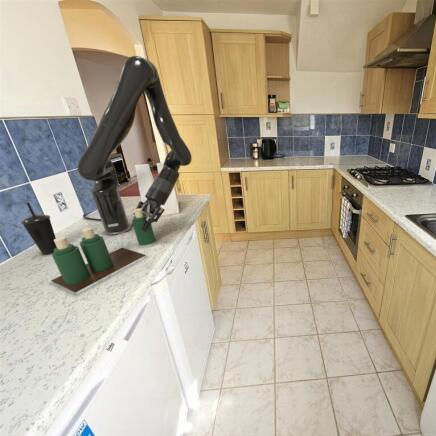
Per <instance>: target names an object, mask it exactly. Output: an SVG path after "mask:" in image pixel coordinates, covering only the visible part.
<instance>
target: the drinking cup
mask: <svg viewBox="0 0 436 436" xmlns="http://www.w3.org/2000/svg"><path fill="white" fill-rule="evenodd" d="M26 206H27V208H28V210H29V212H30V214H31V216H28V217H26V218H25V219H23V220H21V221H20V224H21V225H22V226H23V227H24V228H25V230H26V232H27V233H28V234H29V236H30V238H31V239H32V240H33V242H34V243H35V245H36V246H37V248H38V249H39V251H40V252H41V254H42V255H52V253H53V252H54V249H55V248H57V246H56V244H55V242H54V239H56V238H57V237H56V235H55V231H54V228H53V225H52V221H51V216H50V215H48V214H35V212H34V209H33V208H32V205H31V204H30V202H26Z"/></svg>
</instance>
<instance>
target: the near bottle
mask: <svg viewBox="0 0 436 436" xmlns="http://www.w3.org/2000/svg"><path fill="white" fill-rule="evenodd" d="M54 242H55V244H56V246H57V248H55V249H54V252H53V253H52V254H51V257H52V260H53V261H54V263H55V265H56V267H57V269H58V271H59V273H60V276H61V275H62V277H63V279H64V282H65V284H67V285H73V284H77V283H80V282H82V281H84V280H86V279H87V278H88V277H89V276H90V274H89V271H88V269H87V267H86V264H87V263H86V261H85V260H84V257H83V254H82V252H81V250H80V248H79V246H77V245H74V244H73V243H69V242H68V239H67V237H66V236H60V237H56V239H54Z"/></svg>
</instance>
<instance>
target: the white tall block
mask: <svg viewBox="0 0 436 436" xmlns="http://www.w3.org/2000/svg"><path fill="white" fill-rule="evenodd" d="M163 164H164V162H156V168H157V172H158V173H157V174H159V173H160V171H161V170H162V168H163ZM134 168H135V173H136V179H137V184H138V189H139V197H140V199H141V200H140V201H141V202H145V201H146V200H147V198H146V197H145V195H146V193H147V192H148V190H149V188H150V187H151V185H152V183H153V182H154V180H155V179H154V176H153V173H152V170H151V167H150V164H149V163H145V164H135V165H134ZM160 207H161V208H163V209H164V212H163V213H162V215H161V216H160V217H163V216H168V215H169V216H170V215H175V214H180V203H179V198H178V194H177V190H176V184H175V185H174V187H173V190H172V192H171V194H170V196H169V198H168V199H167V201H166V203H165V205H161V206H160ZM156 217H157V216H156ZM156 217H155V218H156Z"/></svg>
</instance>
